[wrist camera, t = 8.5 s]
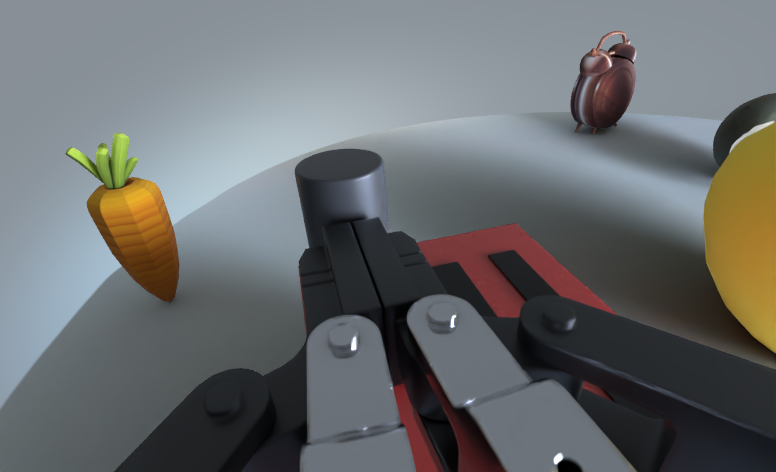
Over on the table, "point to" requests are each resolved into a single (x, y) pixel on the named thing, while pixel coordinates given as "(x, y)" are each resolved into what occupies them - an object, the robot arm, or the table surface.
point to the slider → (340, 190)
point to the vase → (746, 233)
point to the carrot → (132, 219)
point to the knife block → (497, 296)
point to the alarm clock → (604, 85)
